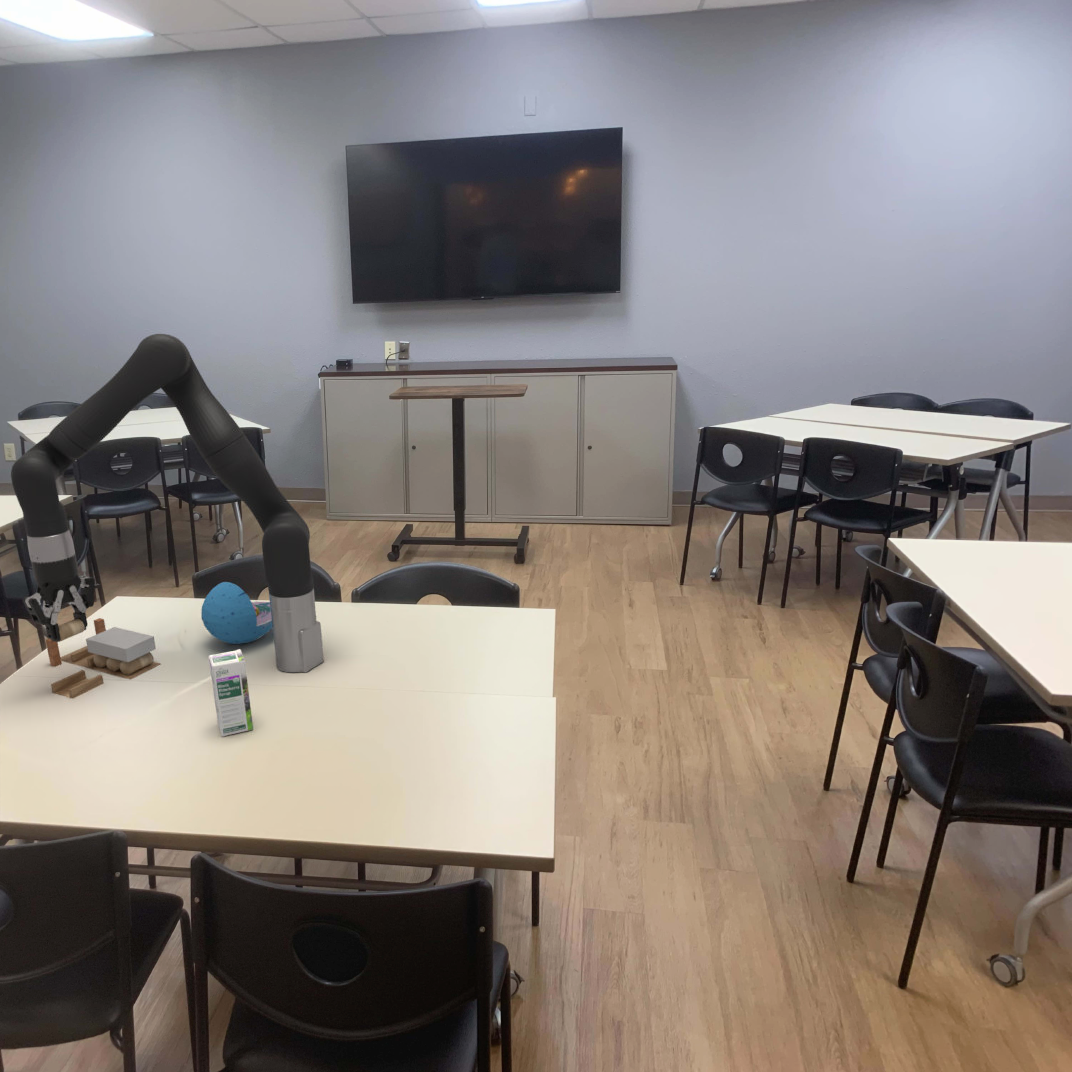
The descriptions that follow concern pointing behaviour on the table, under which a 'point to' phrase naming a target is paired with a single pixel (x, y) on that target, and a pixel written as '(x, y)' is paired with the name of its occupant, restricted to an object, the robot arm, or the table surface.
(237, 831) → the table surface
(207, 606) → the educational model
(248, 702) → the syrup box
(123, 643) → the slab
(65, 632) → the dowel
